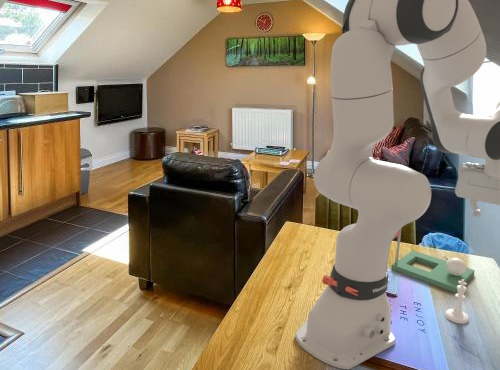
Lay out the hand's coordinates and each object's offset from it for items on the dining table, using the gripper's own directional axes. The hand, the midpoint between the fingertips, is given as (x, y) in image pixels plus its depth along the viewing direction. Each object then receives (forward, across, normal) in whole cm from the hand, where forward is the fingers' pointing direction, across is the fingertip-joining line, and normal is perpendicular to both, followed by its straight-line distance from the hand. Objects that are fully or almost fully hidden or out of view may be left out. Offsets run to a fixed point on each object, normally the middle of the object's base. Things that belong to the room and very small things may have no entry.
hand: (495, 220), depth 97 cm
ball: (+16, -7, 0) cm, 17 cm away
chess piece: (+20, 0, -18) cm, 27 cm away
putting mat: (+20, -13, -2) cm, 24 cm away
